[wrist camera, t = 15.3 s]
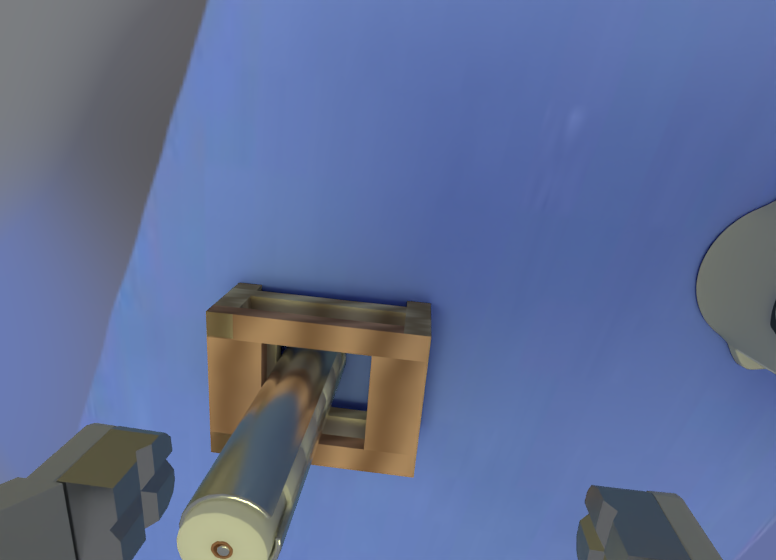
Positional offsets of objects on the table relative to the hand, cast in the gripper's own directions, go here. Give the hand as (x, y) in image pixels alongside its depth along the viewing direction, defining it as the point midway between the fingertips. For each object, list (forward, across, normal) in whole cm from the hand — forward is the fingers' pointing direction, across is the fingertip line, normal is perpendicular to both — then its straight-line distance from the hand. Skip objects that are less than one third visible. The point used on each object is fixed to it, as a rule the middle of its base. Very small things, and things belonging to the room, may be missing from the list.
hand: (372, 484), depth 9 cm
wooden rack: (+38, +8, +18) cm, 43 cm away
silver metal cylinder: (+39, +10, +18) cm, 44 cm away
